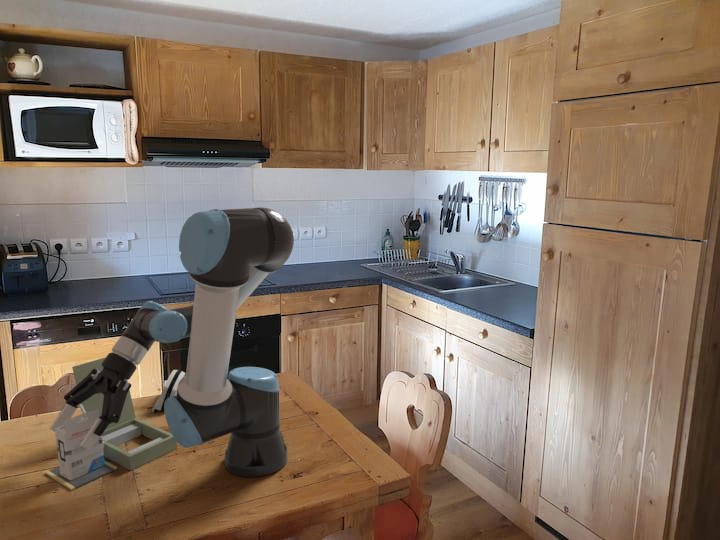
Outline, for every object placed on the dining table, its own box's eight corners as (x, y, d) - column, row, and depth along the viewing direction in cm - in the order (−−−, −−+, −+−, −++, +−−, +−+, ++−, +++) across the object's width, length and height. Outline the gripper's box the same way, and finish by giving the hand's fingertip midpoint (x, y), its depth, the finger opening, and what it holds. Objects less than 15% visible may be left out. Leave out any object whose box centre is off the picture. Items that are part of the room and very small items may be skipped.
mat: (117, 469, 132) (117, 467, 132) (71, 490, 123) (71, 488, 123) (90, 454, 139) (90, 452, 138) (45, 473, 130) (44, 471, 130)
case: (177, 448, 142) (172, 370, 138) (127, 472, 130) (120, 388, 127) (125, 424, 155) (119, 352, 151) (76, 444, 144) (68, 367, 140)
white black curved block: (164, 390, 178) (173, 362, 177) (178, 394, 179) (188, 366, 178) (151, 413, 162) (161, 382, 160) (167, 417, 163) (177, 386, 161)
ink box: (94, 459, 135) (89, 402, 133) (105, 465, 133) (100, 408, 130) (58, 474, 129) (52, 415, 126) (69, 481, 126) (63, 421, 123)
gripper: (165, 376, 132) (111, 461, 123) (106, 356, 146) (54, 431, 137) (144, 361, 127) (86, 448, 118) (85, 342, 141) (29, 418, 132)
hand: (69, 439), depth 127 cm, fingers open, 13 cm apart
